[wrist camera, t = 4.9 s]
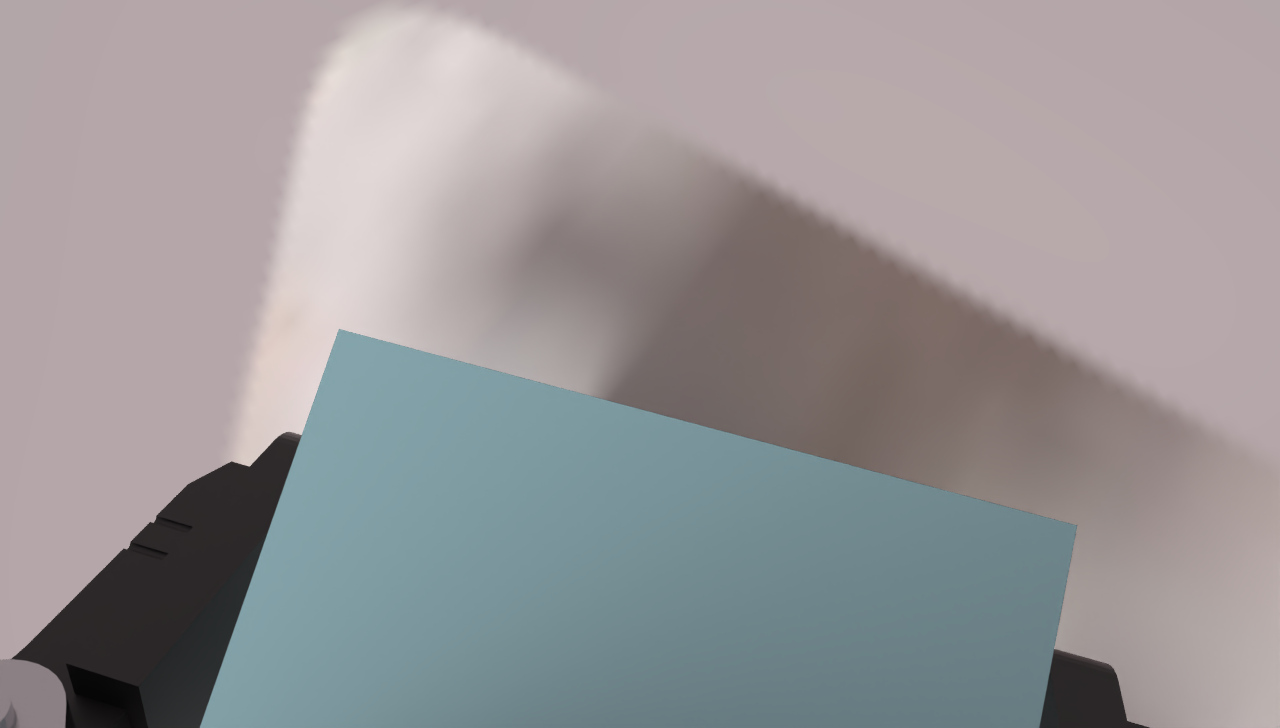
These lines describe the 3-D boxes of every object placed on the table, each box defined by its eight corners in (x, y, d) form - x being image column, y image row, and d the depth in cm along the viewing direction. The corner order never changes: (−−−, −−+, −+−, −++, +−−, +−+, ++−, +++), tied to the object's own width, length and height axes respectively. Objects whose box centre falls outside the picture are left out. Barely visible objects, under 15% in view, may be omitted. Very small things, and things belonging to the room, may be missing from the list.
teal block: (845, 554, 16) (1076, 525, 6) (772, 873, 15) (903, 1450, 5) (556, 474, 16) (338, 329, 7) (467, 775, 15) (61, 1123, 6)
